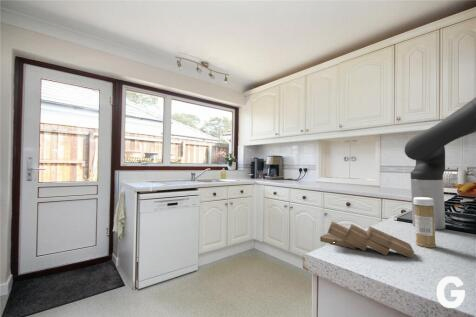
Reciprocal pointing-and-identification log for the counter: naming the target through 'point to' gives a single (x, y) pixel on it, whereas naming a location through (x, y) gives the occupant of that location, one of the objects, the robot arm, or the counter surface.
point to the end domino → (330, 239)
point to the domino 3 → (390, 242)
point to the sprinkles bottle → (424, 221)
